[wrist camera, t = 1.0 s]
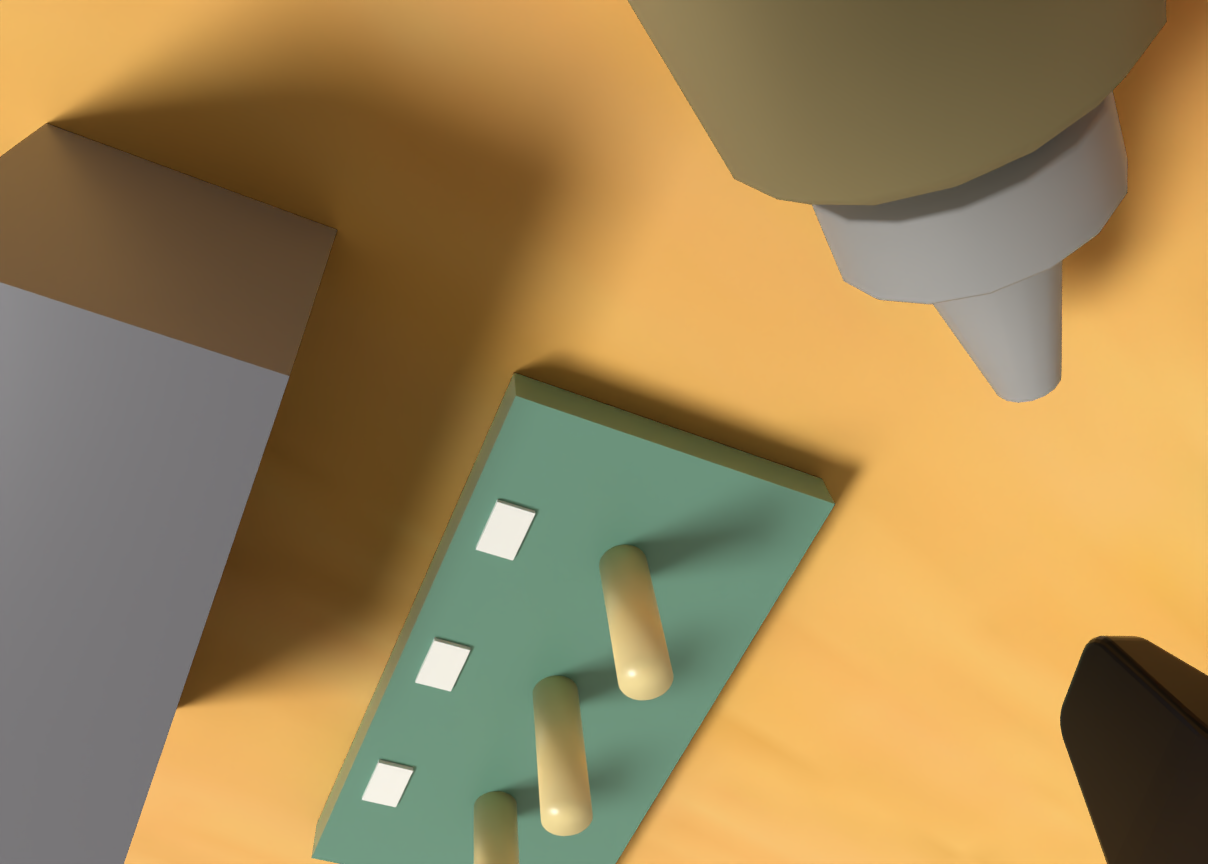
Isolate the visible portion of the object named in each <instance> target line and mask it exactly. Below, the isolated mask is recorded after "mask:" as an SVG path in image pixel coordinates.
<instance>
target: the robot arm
mask: <svg viewBox="0 0 1208 864" xmlns="http://www.w3.org/2000/svg"><path fill="white" fill-rule="evenodd" d="M1060 726H1061V732H1062V736H1063V740H1064V743H1065V746H1066V748H1067V751H1068V754H1069V757H1070V760H1071V763H1072V765H1073V768H1074V771H1075V774H1076V777H1077V780H1078V782H1079V785H1080V788H1081V791H1082V794H1083V797H1084V799H1085V802H1086V805H1087V808H1088V811H1089V814H1090V816H1091V819H1092V822H1093V825H1094V828H1095V831H1096V833H1097V836H1098V839H1099V842H1100V845H1101V848H1102V850H1103V853H1104V856H1105V859H1106V862H1107V864H1208V675H1206V674H1204V673H1202V672H1201V671H1199V670H1197V669H1196V668H1194V667H1192V666H1190V665H1189V664H1187V663H1185V662H1184V661H1182V660H1180V659H1179V658H1177V657H1175V656H1173V655H1172V654H1170V653H1168V652H1167V651H1165V650H1163V649H1162V648H1160V647H1158V646H1156V645H1155V644H1153V643H1151V642H1150V641H1148V640H1146V639H1144V638H1140V637H1136V636H1098V637H1096V638H1093V639H1092V640H1090V641H1089V643H1088V644H1087V645H1086V646H1085V648H1084V650H1083V653H1082V655H1081V658H1080V660H1079V663H1078V666H1077V668H1076V671H1075V673H1074V676H1073V679H1072V681H1071V684H1070V687H1069V689H1068V692H1067V694H1066V697H1065V700H1064V702H1063V705H1062V709H1061V716H1060Z"/></svg>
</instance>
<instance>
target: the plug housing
mask: <svg viewBox="0 0 1208 864" xmlns="http://www.w3.org/2000/svg"><path fill="white" fill-rule="evenodd" d="M336 232H337V230H336V229H334V228H331V227H328V226H325V225H323V224H320V223H317V222H315V221H312V220H309V219H306V218H304V217H301V216H298V215H295V214H293V213H290V212H287V211H284V210H282V209H279V208H276V207H274V206H271V205H268V204H265V203H263V202H260V201H257V200H254V199H252V198H249V197H246V196H243V195H241V194H238V193H235V192H233V191H230V190H227V189H224V188H222V187H219V186H216V185H213V184H211V183H208V182H205V181H202V180H200V179H197V178H194V177H192V176H189V175H186V174H183V173H181V172H178V171H175V170H172V169H170V168H167V167H164V166H161V165H159V164H156V163H153V162H151V161H148V160H145V159H142V158H140V157H137V156H134V155H131V154H129V153H126V152H123V151H120V150H118V149H115V148H112V147H110V146H107V145H104V144H101V143H99V142H96V141H93V140H90V139H88V138H85V137H82V136H79V135H77V134H74V133H71V132H69V131H66V130H63V129H60V128H58V127H55V126H52V125H49V124H47V123H46V124H44V125H43V126H42V127H40V128H39V129H38V130H36V131H35V132H33V133H32V134H31V135H29V136H28V137H27V138H25V139H24V140H23V141H21V142H20V143H18V144H17V145H16V146H14V147H13V148H12V149H10V150H9V151H7V152H6V153H5V154H3V155H2V156H1V157H0V864H124V861H125V858H126V855H127V853H128V850H129V847H130V844H131V841H132V838H133V835H134V832H135V829H136V826H137V823H138V820H139V817H140V814H141V811H142V808H143V805H144V803H145V800H146V797H147V794H148V791H149V788H150V785H151V782H152V779H153V776H154V773H155V770H156V767H157V764H158V761H159V758H160V756H161V753H162V750H163V747H164V744H165V741H166V738H167V735H168V732H169V729H170V726H171V723H172V720H173V717H174V714H175V711H176V709H177V706H178V703H179V700H180V697H181V694H182V691H183V688H184V685H185V682H186V679H187V676H188V673H189V670H190V667H191V664H192V662H193V659H194V656H195V653H196V650H197V647H198V644H199V641H200V638H201V635H202V632H203V629H204V626H205V623H206V620H207V617H208V615H209V612H210V609H211V606H212V603H213V600H214V597H215V594H216V591H217V588H218V585H219V582H220V579H221V576H222V573H223V570H224V567H225V565H226V562H227V559H228V556H229V553H230V550H231V547H232V544H233V541H234V538H235V535H236V532H237V529H238V526H239V523H240V520H241V518H242V515H243V512H244V509H245V506H246V503H247V500H248V497H249V494H250V491H251V488H252V485H253V482H254V479H255V476H256V473H257V471H258V468H259V465H260V462H261V459H262V456H263V453H264V450H265V447H266V444H267V441H268V438H269V435H270V432H271V429H272V426H273V424H274V421H275V418H276V415H277V412H278V409H279V406H280V403H281V400H282V397H283V394H284V391H285V388H286V385H287V382H288V379H289V377H290V373H291V370H292V367H293V364H294V361H295V358H296V355H297V352H298V349H299V346H300V343H301V340H302V337H303V334H304V331H305V327H306V324H307V321H308V318H309V315H310V312H311V309H312V306H313V303H314V300H315V297H316V294H317V291H318V288H319V285H320V282H321V278H322V275H323V272H324V269H325V266H326V263H327V260H328V257H329V254H330V251H331V248H332V245H333V242H334V239H335V236H336Z"/></svg>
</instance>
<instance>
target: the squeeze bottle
mask: <svg viewBox="0 0 1208 864" xmlns="http://www.w3.org/2000/svg"><path fill="white" fill-rule="evenodd" d="M628 2H629V4H630V5H631V7H632V9H633V10H634V12H635V14H636V15H637V17H638V19H639V20H640V22H641V24H642V25H643V27H644V29H645V30H646V32H647V34H648V35H649V37H650V39H651V40H652V42H653V44H654V45H655V47H656V49H657V50H658V52H659V54H660V55H661V57H662V59H663V60H664V62H665V64H666V65H667V67H668V69H669V70H670V72H671V74H672V75H673V77H674V79H675V80H676V82H677V84H678V85H679V87H680V89H681V91H682V92H683V94H684V96H685V97H686V99H687V101H688V102H689V104H690V106H691V107H692V109H693V111H694V112H695V114H696V116H697V117H698V119H699V121H700V122H701V124H702V126H703V127H704V129H705V131H706V132H707V134H708V136H709V137H710V139H711V141H712V142H713V144H714V146H715V147H716V149H717V151H718V152H719V154H720V156H721V157H722V159H723V161H724V162H725V164H726V166H727V167H728V169H729V171H730V172H731V174H732V176H733V178H734V179H736V180H738V181H740V182H742V183H744V184H746V185H748V186H750V187H752V188H755V189H757V190H759V191H761V192H763V193H765V194H767V195H769V196H771V197H773V198H776V199H779V200H785V201H792V202H798V203H805V204H811V205H812V206H813V209H814V211H815V213H816V216H817V218H818V221H819V223H820V225H821V228H822V230H823V233H824V235H825V237H826V240H827V242H828V245H829V247H830V249H831V252H832V254H833V257H834V259H835V261H836V264H837V266H838V268H839V271H840V273H841V275H842V278H843V280H844V281H845V282H846V283H848V284H850V285H852V286H854V287H856V288H857V289H859V290H861V291H863V292H865V293H867V294H869V295H870V296H872V297H874V298H876V299H879V300H887V301H898V302H909V303H921V304H933V305H934V307H935V308H936V309H937V311H938V312H939V314H940V315H941V316H942V318H943V319H944V321H945V322H946V323H947V325H948V326H949V328H950V329H951V330H952V332H953V333H954V335H955V336H956V337H957V339H958V340H959V342H960V343H961V344H962V346H963V347H964V349H965V350H966V351H967V353H968V354H969V356H970V357H971V358H972V360H973V361H974V363H975V364H976V366H977V367H978V368H979V370H980V371H981V373H982V374H983V375H984V377H985V378H986V380H987V381H988V382H989V384H990V385H991V387H992V388H993V389H994V391H995V392H996V394H997V395H998V396H999V397H1001V398H1003V399H1005V400H1006V401H1012V402H1018V403H1019V402H1027V401H1033V400H1035V399H1038V398H1041V397H1043V396H1045V395H1047V394H1048V393H1049V392H1051V391H1052V390H1054V389H1055V388H1056V386H1057V385H1058V383H1059V382H1060V380H1061V362H1062V260H1063V259H1065V258H1066V257H1067V256H1069V255H1070V254H1072V253H1073V252H1074V251H1076V250H1077V249H1078V248H1080V247H1081V246H1083V245H1084V244H1085V243H1087V242H1088V241H1090V240H1091V239H1092V238H1094V237H1095V236H1096V235H1098V233H1099V232H1100V231H1101V230H1102V228H1103V227H1104V225H1105V224H1106V222H1107V221H1108V220H1109V218H1110V217H1111V215H1112V214H1113V212H1114V211H1115V210H1116V208H1117V207H1118V205H1119V204H1120V202H1121V201H1122V199H1123V198H1124V197H1125V195H1126V194H1127V170H1128V159H1127V154H1126V149H1125V145H1124V140H1123V136H1122V131H1121V127H1120V122H1119V118H1118V113H1117V109H1116V104H1115V99H1114V95H1113V90H1114V88H1115V87H1116V86H1117V85H1118V84H1119V83H1120V82H1121V81H1122V80H1123V79H1124V78H1125V77H1126V75H1127V74H1128V73H1129V71H1130V70H1131V69H1132V67H1133V66H1134V65H1135V63H1136V62H1137V61H1138V59H1139V58H1140V57H1141V55H1142V54H1143V53H1144V51H1145V50H1146V49H1147V47H1148V46H1149V45H1150V43H1151V42H1152V41H1153V39H1154V38H1155V37H1156V35H1157V34H1158V33H1159V31H1160V30H1161V29H1162V27H1163V26H1164V25H1165V23H1166V22H1167V20H1166V0H628Z"/></svg>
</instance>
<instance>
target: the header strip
mask: <svg viewBox="0 0 1208 864" xmlns="http://www.w3.org/2000/svg"><path fill="white" fill-rule="evenodd" d="M834 505H835V503H834V501H833V499H832V497H831V495H830V493H829V491H828V490H827V488H826V486H825V484H824V482H823V480H822V479H821V478H818V477H815V476H812V475H810V474H807V473H804V472H801V471H798V470H795V469H792V468H789V467H786V466H783V465H781V464H778V463H775V462H772V461H769V460H766V459H763V458H760V457H757V456H755V455H752V454H749V453H746V452H743V451H740V450H737V449H734V448H731V447H728V446H726V445H723V444H720V443H717V442H714V441H711V440H708V439H705V438H702V437H699V436H697V435H694V434H691V433H688V432H685V431H682V430H679V429H676V428H673V427H671V426H668V425H665V424H662V423H659V422H656V421H653V420H650V419H647V418H644V417H642V416H639V415H636V414H633V413H630V412H627V411H624V410H621V409H618V408H615V407H613V406H610V405H607V404H604V403H601V402H598V401H595V400H592V399H589V398H587V397H584V396H581V395H578V394H575V393H572V392H569V391H566V390H563V389H560V388H558V387H555V386H552V385H549V384H546V383H543V382H540V381H537V380H534V379H531V378H529V377H526V376H523V375H520V374H517V373H514V374H513V376H512V379H511V381H510V383H509V385H508V388H507V390H506V392H505V395H504V397H503V399H502V401H501V404H500V406H499V408H498V411H497V413H496V415H495V417H494V420H493V422H492V424H491V427H490V429H489V431H488V433H487V436H486V438H485V440H484V443H483V445H482V447H481V450H480V452H479V454H478V456H477V459H476V461H475V463H474V466H473V468H472V470H471V472H470V475H469V477H468V479H467V482H466V484H465V486H464V488H463V491H462V493H461V495H460V498H459V500H458V502H457V504H456V507H455V509H454V511H453V514H452V516H451V518H450V520H449V523H448V525H447V527H446V530H445V532H444V534H443V536H442V539H441V541H440V543H439V546H438V548H437V550H436V552H435V555H434V557H433V559H432V562H431V564H430V566H429V569H428V571H427V573H426V575H425V578H424V580H423V582H422V585H421V587H420V589H419V591H418V594H417V596H416V598H415V601H414V603H413V605H412V607H411V610H410V612H409V614H408V617H407V619H406V621H405V623H404V626H403V628H402V630H401V633H400V635H399V637H398V639H397V642H396V644H395V646H394V649H393V651H392V653H391V655H390V658H389V660H388V662H387V665H386V667H385V669H384V672H383V674H382V676H381V678H380V681H379V683H378V685H377V688H376V690H375V692H374V694H373V697H372V699H371V701H370V704H369V706H368V708H367V710H366V713H365V715H364V717H363V720H362V722H361V724H360V726H359V729H358V731H357V733H356V736H355V738H354V740H353V742H352V745H351V747H350V749H349V752H348V754H347V756H346V758H345V761H344V763H343V765H342V768H341V770H340V772H339V775H338V777H337V779H336V781H335V784H334V786H333V788H332V791H331V793H330V795H329V797H328V800H327V802H326V804H325V807H324V809H323V811H322V813H321V816H320V818H319V820H318V823H317V826H316V832H315V839H314V845H313V852H312V858H315V859H320V860H325V861H330V862H334V863H339V864H616V862H617V860H618V859H619V857H620V856H621V854H622V852H623V851H624V849H625V847H626V846H627V844H628V842H629V841H630V839H631V838H632V836H633V834H634V833H635V831H636V829H637V828H638V826H639V824H640V823H641V821H642V820H643V818H644V816H645V815H646V813H647V811H648V810H649V808H650V806H651V805H652V803H653V802H654V800H655V798H656V797H657V795H658V793H659V792H660V790H661V788H662V787H663V785H664V784H665V782H666V780H667V779H668V777H669V775H670V774H671V772H672V770H673V769H674V767H675V765H676V764H677V762H678V761H679V759H680V757H681V756H682V754H683V752H684V751H685V749H686V747H687V746H688V744H689V743H690V741H691V739H692V738H693V736H694V734H695V733H696V731H697V729H698V728H699V726H700V725H701V723H702V721H703V720H704V718H705V716H706V715H707V713H708V711H709V710H710V708H711V707H712V705H713V703H714V702H715V700H716V698H717V697H718V695H719V693H720V692H721V690H722V689H723V687H724V685H725V684H726V682H727V680H728V679H729V677H730V675H731V674H732V672H733V670H734V669H735V667H736V666H737V664H738V662H739V661H740V659H741V657H742V656H743V654H744V652H745V651H746V649H747V648H748V646H749V644H750V643H751V641H752V639H753V638H754V636H755V634H756V633H757V631H758V630H759V628H760V626H761V625H762V623H763V621H764V620H765V618H766V616H767V615H768V613H769V612H770V610H771V608H772V607H773V605H774V603H775V602H776V600H777V598H778V597H779V595H780V594H781V592H782V590H783V589H784V587H785V585H786V584H787V582H788V580H789V579H790V577H791V575H792V574H793V572H794V571H795V569H796V567H797V566H798V564H799V562H800V561H801V559H802V557H803V556H804V554H805V553H806V551H807V549H808V548H809V546H810V544H811V543H812V541H813V539H814V538H815V536H816V535H817V533H818V531H819V530H820V528H821V526H822V525H823V523H824V521H825V520H826V518H827V517H828V515H829V513H830V512H831V510H832V508H833V507H834Z"/></svg>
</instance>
